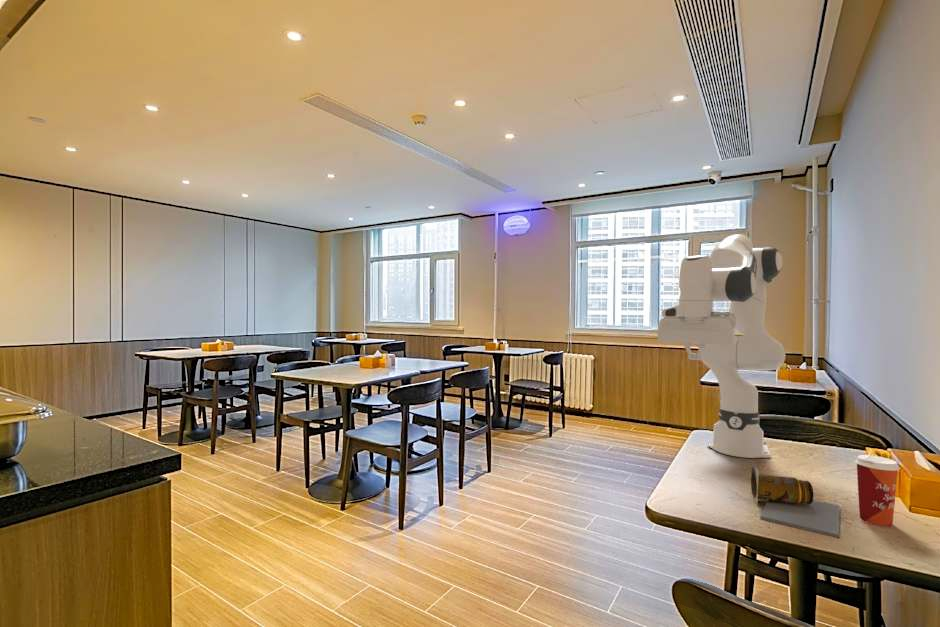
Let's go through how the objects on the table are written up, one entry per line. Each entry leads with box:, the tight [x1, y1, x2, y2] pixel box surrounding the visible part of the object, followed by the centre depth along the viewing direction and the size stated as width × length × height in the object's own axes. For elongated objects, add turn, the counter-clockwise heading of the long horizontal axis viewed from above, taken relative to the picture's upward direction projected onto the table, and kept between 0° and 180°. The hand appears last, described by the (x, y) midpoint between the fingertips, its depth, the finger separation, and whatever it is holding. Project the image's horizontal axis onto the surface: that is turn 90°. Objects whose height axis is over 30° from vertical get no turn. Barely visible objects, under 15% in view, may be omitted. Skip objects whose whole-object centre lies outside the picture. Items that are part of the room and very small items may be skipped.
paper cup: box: [854, 454, 901, 527], centre depth 108 cm, size 8×8×14 cm
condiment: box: [750, 461, 814, 506], centre depth 117 cm, size 7×8×12 cm
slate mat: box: [760, 499, 841, 538], centre depth 112 cm, size 20×14×1 cm
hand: (694, 359), depth 138 cm, fingers closed
